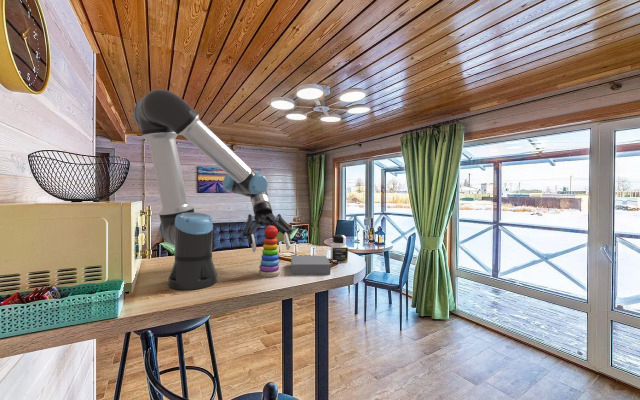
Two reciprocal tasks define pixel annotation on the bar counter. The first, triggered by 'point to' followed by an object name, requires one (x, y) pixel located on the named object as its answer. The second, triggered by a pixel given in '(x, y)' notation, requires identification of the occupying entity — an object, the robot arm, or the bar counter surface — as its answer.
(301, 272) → the charcoal plinth
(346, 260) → the medicine bottle
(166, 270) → the bar counter surface
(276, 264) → the stacking toy
